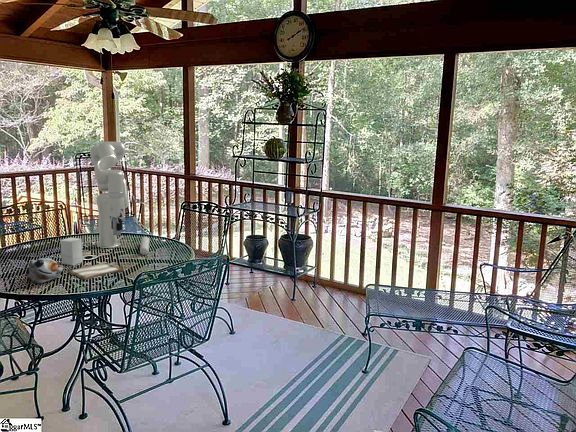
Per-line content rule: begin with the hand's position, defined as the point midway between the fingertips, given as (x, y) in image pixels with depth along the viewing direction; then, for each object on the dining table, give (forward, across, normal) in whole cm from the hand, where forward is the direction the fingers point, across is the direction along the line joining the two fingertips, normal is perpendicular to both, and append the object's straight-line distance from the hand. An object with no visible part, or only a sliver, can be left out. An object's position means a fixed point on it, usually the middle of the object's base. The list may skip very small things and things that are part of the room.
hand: (117, 229), depth 255 cm
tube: (+18, -9, +23) cm, 31 cm away
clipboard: (+17, +10, -18) cm, 27 cm away
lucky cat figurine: (+17, +5, -40) cm, 44 cm away
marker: (+3, 0, 0) cm, 3 cm away
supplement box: (+17, -12, -19) cm, 28 cm away
